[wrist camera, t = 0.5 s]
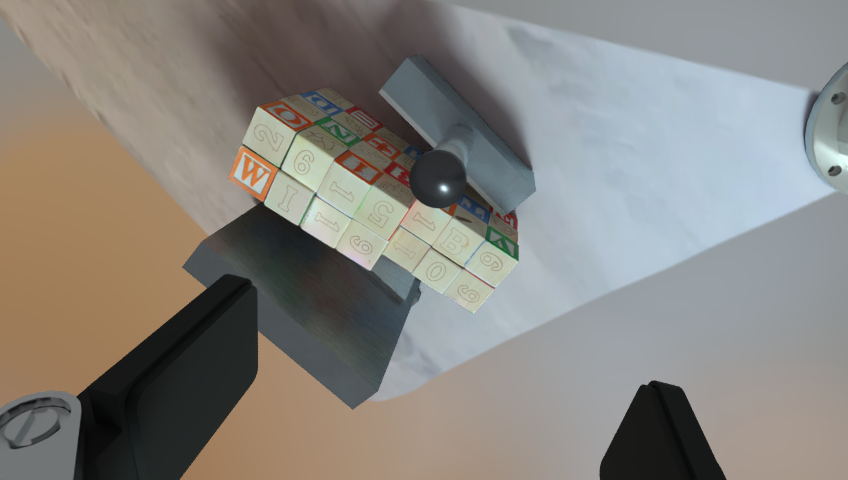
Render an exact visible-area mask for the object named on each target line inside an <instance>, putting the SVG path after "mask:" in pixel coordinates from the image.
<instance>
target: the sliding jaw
mask: <svg viewBox="0 0 848 480" xmlns="http://www.w3.org/2000/svg"><path fill="white" fill-rule="evenodd" d="M378 93H379V94H380V95H381V96H382V97H383V98H384V99H385V100H386V101H387V102H388V103H389V104H390V105H391V106H392V107H393V108H394V109H395V110H396V111H397V112H398V113H399V114H400V115H401V116H402V117H403V118H404V119H405V120H406V121H407V122H408V123H409V124H410V125H411V126H412V127H413V128H414V129H415V130H416V131H417V132H418V133H419V134H420V135H421V136H422V137H423V138H424V139H425V140H426V141H427V142H428V143H429V144H430V145H431V146H432V147H433V148H434V150H431V151H428V152H426V153H424V154H423V155H422V156H420V157H419V158H418V160H417V161H416V162H415V163H414V165H413V166H412V168H411V171H410V174H409V185H410V189H411V191H412V193H413V195H414V196H415V197H416V199H417V200H418V201H420V202H421V203H422V204H424V205H426V206H428V207H431V208H446V207H449V206H451V205H453V204H455V203H456V202H457V201H458V200H459V199H460V198H461V196H462V195H463V193H464V190H465V187H466V184H467V182H468V183H469V184H470V185H471V186H472V187H473V188H474V189H475V190H476V191H477V192H478V193H479V194H480V195H481V196H482V197H483V198H484V199H485V200H486V201H487V202H488V203H489V204H490V205H491V206H492V207H493V208H494V209H495V210H496V211H497V212H498V213H499V214H500V215H501V216H502V217H504V216H505V215H506V214H509V213H510V212H511V211H512V210H513V209H515V208H516V207H517V206H518V205H519V204H521V203H522V202H523V201H524V200H525V199H527V198H528V197H529V196H530V195H531V194H533V193H534V192H535V191H536V188H535V179H534V173H533V172H532V171H531V170H530V169H529V167H528V166H527V165H526V164H525V163H524V162H523V161H522V160H521V159H520V158H519V157H518V156H517V155H516V154H515V153H514V152H513V151H512V150H511V149H510V148H509V146H508V145H507V144H506V143H505V142H504V141H503V140H502V139H501V138H500V137H499V136H498V135H497V134H496V133H495V132H494V131H493V130H492V129H491V128H490V127H489V126H488V124H487V123H486V122H485V121H484V120H483V119H482V118H481V117H480V116H479V115H478V114H477V113H476V112H475V111H474V110H473V109H472V108H471V107H470V106H469V105H468V104H467V102H466V101H465V100H464V99H463V98H462V97H461V96H460V95H459V94H458V93H457V92H456V91H455V90H454V89H453V88H452V87H451V86H450V85H449V84H448V83H447V82H446V80H445V79H444V78H443V77H442V76H441V75H440V74H439V73H438V72H437V71H436V70H435V69H434V68H433V67H432V66H431V65H430V64H429V63H428V62H427V61H426V60H425V58H424V57H423V56H422V55H416V56H411V57H407V58H406V60H405V61H404V62H403V63H402V64H401V65H400V67H399V68H398V69H397V70H396V71H395V73H394V74H393V75H392V76H391V77H390V78H389V80H388V81H387V82H386V83H385V84H384V86H383V87H382V89H381V90H380V91H379V92H378Z"/></svg>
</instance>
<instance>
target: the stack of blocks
mask: <svg viewBox="0 0 848 480" xmlns="http://www.w3.org/2000/svg"><path fill="white" fill-rule="evenodd" d="M242 142H243V145H242V146H241V147H240V149H239V151H238V154H237V156H236V159H235V161H234V164H233V166H232V169H231V171H230V174H229V177H228V180H230V181H231V182H233V183H234V184H236V185H237V186H239V187H240V188H242V189H244V190H245V191H247V192H248V193H250V194H251V195H253V196H254V197H256V198H257V199H259V200H260V201H262V202H264V204H265V206H267V207H268V208H270V209H272V210H273V211H275V212H276V213H278V214H280V215H281V216H283V217H284V218H286V219H287V220H289V221H291V222H292V223H294V224H296V225H300V226H301V228H302V229H303V230H304V231H306V232H307V233H309V234H311V235H312V236H314V237H316V238H317V239H319V240H320V241H322V242H324V243H325V244H327V245H328V246H330V247H332V248H336V249H337V251H339V252H340V253H342V254H343V255H345V256H347V257H348V258H350V259H351V260H353V261H355V262H356V263H358V264H359V265H361V266H363V267H364V268H366V269H367V270H370V271H371V269H372V268H373V266H374V264H375V263H376V261H377V260H378V259H379V257H380V256H381V254H383V255H384V256H386V257H387V258H389V259H390V260H392V261H393V262H395V263H397V264H398V265H400V266H401V267H403V268H404V269H406V270H407V271H409V272H411V273H412V275H413V276H415V277H416V278H418V279H419V280H421V281H422V282H424V283H425V284H427V285H428V286H430V287H432V288H433V289H435V290H436V291H438V292H439V293H441V294H444V295H446V296H447V297H448V298H450V299H451V300H453V301H455V302H456V303H458V304H459V305H460V306H462V307H464V308H465V309H467V310H468V311H470V312H471V313H474V312H475V311H476V310H477V309H478V308H479V307H480V306H481V305H482V303H483V302H484V301H485V300H486V299H487V298H488V297H489V296H490V294H491V293H492V292H493V291H494V289H495V287H496V286H497V285H498V284H499V283H500V282H501V281H502V280H503V279H504V278H505V277H506V275H507V274H508V273H509V272H510V271H511V270H512V268H513V267H514V266H515V265H516V264H517V263H518V260H519V252H518V249H519V246H518V244H517V242H518V231H517V225H518V221H517V218H515V217H514V216H512V215H511V214H506V215H505V216H504V217H502V216H501V215H500V214H499V213H498V212H497V211H496V210H495V209H494V208H493V207H492V206H491V205H490V204H489V203H488V202H487V201H486V200H485V199H484V198H483V197H482V196H481V195H480V194H479V193H478V192H477V191H476V190H475V189H474V188H473V187H471V186H470V185H468V184H466V187H465V190H464V193H463V195H462V196H461V198H460V199H459V200H458V201H457V202H456V203H455V204H453V205H451V206H449V207H446V208H431V207H428V206H426V205H424V204H422V203H421V202H420V201H418V200H417V199H416V197H415V196H414V195H413V193H412V191H411V189H410V185H409V174H410V171H411V168H412V166H413V165H414V163H415V162H416V161H417V160H418V158H419V157H420V156H422V155H423V153H421V152H420V151H419V150H417V149H416V148H414V147H413V146H410V145H409V144H408V143H407V142H405V141H404V140H402V139H401V138H399V137H398V136H397V135H395V134H394V133H392V132H391V131H389V130H388V129H386V128H385V127H384V126H383V125H382V124H380V123H379V122H378V121H376V120H375V119H373V118H372V117H371V116H369V115H368V114H366V113H365V112H363V111H362V110H361V109H359V108H358V107H356V106H355V105H354V104H352V103H351V102H350V101H348V100H347V99H345V98H344V97H343V96H341V95H340V94H338V93H337V92H335V91H334V90H333V89H331V88H330V87H325V88H322V89H318V90H315V91H312V92H308V93H305V94H300V95H293V96H288V97H285V98H281V99H279V100H278V101H276V102H272V103H268V104H264V105H260V106H258V107H257V109H256V111H255V113H254V116H253V118H252V121H251V123H250V125H249V128H248V130H247V132H246V134H245V137H244V139H243V141H242Z"/></svg>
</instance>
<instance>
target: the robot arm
mask: <svg viewBox="0 0 848 480" xmlns="http://www.w3.org/2000/svg"><path fill="white" fill-rule="evenodd" d="M833 95H834V98H833V99H832V100H831V98H832V96H833ZM805 143H806V153H807V156H808V159H809V161H810V164H811V166H812V168H813V169H814V171H815V172H816V174H817V175H818V176H819V178H821V179H822V180H823V181H824V182H825V183H827V184H828V185H829V186H830V187H832V188H834V189H836V190H838V191H840V192H842V193H844V194H846V195H848V62H847V63H846V64H845V65H844V66H843V67H842V68H841V69H840V70H838V71H837V72H836V73H835V74H834V76H833V77H832V78H831V80H830V81H829V82H828V83H827V85H826V86H825V87H824V88H823V90H822V91H821V93H820V95H819V96H818V98H817V100H816V102H815V103H814V105H813V107H812V110H811V113H810V116H809V119H808V122H807V127H806V135H805ZM257 370H258V298H257V288H256V287H255V286H252V282H251V280H250V279H248V278H244V277H240V276H236V275H232V274H225V275H223V276H222V277H220V278H219V279H218V280H217V281H216V282H214V283H213V284H212V285H211V286H210V287H208V288H207V289H206V290H205V291H204V292H202V293H201V294H200V295H199V296H198V297H196V298H195V299H194V300H193V301H191V302H190V303H189V304H188V305H187V306H185V307H184V308H183V309H182V310H180V311H179V312H178V313H177V314H176V315H174V316H173V317H172V318H171V319H169V320H168V321H167V322H166V323H165V324H163V325H162V326H161V327H160V328H159V329H157V330H156V331H155V332H154V333H152V334H151V335H150V336H149V337H148V338H147V339H145V340H144V341H143V342H142V343H140V344H139V345H138V346H137V347H136V348H134V349H133V350H132V351H131V352H129V353H128V354H127V355H126V356H125V357H123V358H122V359H121V360H120V361H119V362H117V363H116V364H115V365H114V366H113V367H111V368H110V369H109V370H108V371H106V372H105V373H104V374H103V375H102V376H100V377H99V378H98V379H97V380H96V381H94V382H93V383H92V384H91V385H89V386H88V387H87V388H86V389H85V390H84V391H83V392H81V393H80V394H79V395H78V396H76V397H75V396H74V395H72V394H69V393H67V392H62V391H46V392H38V393H34V394H31V395H27V396H24V397H21V398H19V399H17V400H14V401H12V402H10V403H7V404H6V405H4V406H3V407H1V408H0V480H180V478H181V477H182V476H183V474H184V473H185V472H186V470H187V469H188V468H189V466H190V465H191V463H192V462H193V461H194V460H195V458H196V457H197V456H198V454H199V453H200V452H201V450H202V449H203V448H204V446H205V445H206V444H207V443H208V441H209V440H210V438H211V437H212V436H213V435H214V433H215V432H216V430H217V429H218V428H219V427H220V425H221V424H222V423H223V421H224V420H225V419H226V417H227V416H228V415H229V413H230V412H231V411H232V409H233V408H234V407H235V405H236V404H237V403H238V401H239V400H240V399H241V397H242V396H243V395H244V394H245V392H246V391H247V390H248V388H249V387H250V385H251V384H252V383H253V381H254V379H255V377H256V374H257ZM600 480H726V478H725V475H724V473H723V471H722V469H721V468H720V466H719V464H718V463H717V461H716V459H715V457H714V455H713V453H712V450H711V448H710V446H709V444H708V442H707V440H706V438H705V436H704V433H703V431H702V429H701V427H700V425H699V423H698V421H697V419H696V417H695V414H694V412H693V410H692V408H691V406H690V404H689V401H688V399H687V397H686V395H685V393H684V391H683V390H682V388H680V387H679V386H675V385H670V384H667V383H663V382H658V381H651V382H650V383H649V384H648V385H641V386H640V387H639V389H638V391H637V393H636V395H635V397H634V399H633V401H632V403H631V405H630V407H629V409H628V411H627V412H626V414H625V416H624V419H623V421H622V422H621V424H620V427H619V428H618V430H617V433H616V434H615V436H614V438H613V440H612V442H611V444H610V446H609V448H608V450H607V452H606V454H605V456H604V458H603V459H602V462H601V465H600Z"/></svg>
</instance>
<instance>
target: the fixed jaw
mask: <svg viewBox="0 0 848 480" xmlns="http://www.w3.org/2000/svg"><path fill="white" fill-rule="evenodd" d="M182 268H184V269H185V270H186V271H187V272H188V273H190V274H191V275H192V276H193V277H194V278H196V279H197V280H198V281H199V282H200V283H202V284H203V285H204V286H205V287H206V288H208V287H210V286H211V285H212V284H213V283H214V282H216V281H217V280H218V279H219V278H220V277H222V276H223V275H225V274H232V275H236V276H240V277H244V278H248V279H250V280H251V282H252V286H255V287H256V288H257V298H258V331H259V332H260V333H261V334H263V335H264V336H265V337H266V338H268V339H269V340H270V341H271V342H272V343H274V344H275V345H276V346H277V347H278V348H279V349H281V350H282V351H283V352H284V353H286V354H287V355H288V356H289V357H290V358H291V359H293V360H294V361H295V362H296V363H297V364H299V365H300V366H301V367H302V368H304V369H305V370H306V371H307V372H308V373H309V374H311V375H312V376H313V377H314V378H315V379H317V380H318V381H319V382H320V383H321V384H323V385H324V386H325V387H326V388H327V389H329V390H330V391H331V392H333V394H335V395H336V396H337V397H338V398H339V399H341V400H342V401H343V402H344V403H345V404H347V405H348V406H349V407H350V408H351V409H354V408H356V407H357V406H358V405H360V404H361V403H363V402H364V401H365V400H367V399H368V398H369V397H371V396H372V395H373V394H375V393H376V392H378V390H379V387H380V384H381V382H382V379H383V377H384V374H385V372H386V369H387V367H388V364H389V362H390V359H391V356H392V354H393V351H394V349H395V346H396V344H397V341H398V339H399V336H400V334H401V331H402V329H403V326H404V323H405V321H406V318H407V316H408V313H409V311H410V308H411V307H412V306H413V305H414V304H415V303H416V302H418V301H419V298H420V296H421V293H420V292H419V291H418V288H419V285H420V283H421V281H420V280H419V279H418V278H416V277H415V276H413V275H412V273H411V272H409V271H407V270H406V269H404V268H403V267H401V266H400V265H398V264H397V263H395V262H393V261H392V260H390V259H389V258H387V257H386V256H384V255H383V254H381V256H380V257H379V259H378V260H377V261H376V263H375V264H374V266H373V268H372V269H371V271H370V270H367V269H366V268H364V267H363V266H361V265H359V264H358V263H356V262H355V261H353V260H351V259H350V258H348V257H347V256H345V255H343V254H342V253H340V252H339V251H337V249H336V248H332V247H330V246H328V245H327V244H325V243H324V242H322V241H320V240H319V239H317V238H316V237H314V236H312V235H311V234H309V233H307V232H306V231H304V230H303V229H302V228H301V226H300V225H296V224H294V223H292V222H291V221H289V220H287V219H286V218H284V217H283V216H281V215H280V214H278V213H276V212H275V211H273V210H272V209H270V208H268V207H267V206H265V204H264V202H261V203H260V204H258V205H256V206H255V207H253V208H252V209H250V210H249V211H247V212H246V213H244V214H243V215H241V216H240V217H238V218H237V219H235V220H234V221H232V222H231V223H229V224H227V225H226V226H224V227H223V228H221V229H220V230H218V231H217V232H215V233H214V234H212V235H211V236H209V237H208V238H206V239H205V240H203V241H202V242H201V243H200V245H199V246H198V247H197V248H196V250H195V251H194V252H193V254H192V255H191V256H190V258H189V259H188V260H187V261H186V263H185V264H184V265H183V267H182Z"/></svg>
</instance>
